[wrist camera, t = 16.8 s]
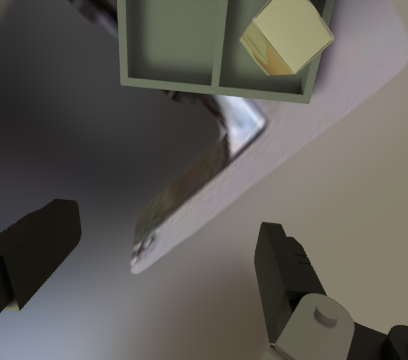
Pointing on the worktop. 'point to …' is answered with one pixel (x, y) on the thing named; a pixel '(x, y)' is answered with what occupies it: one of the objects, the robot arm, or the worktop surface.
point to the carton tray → (203, 49)
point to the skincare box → (286, 36)
